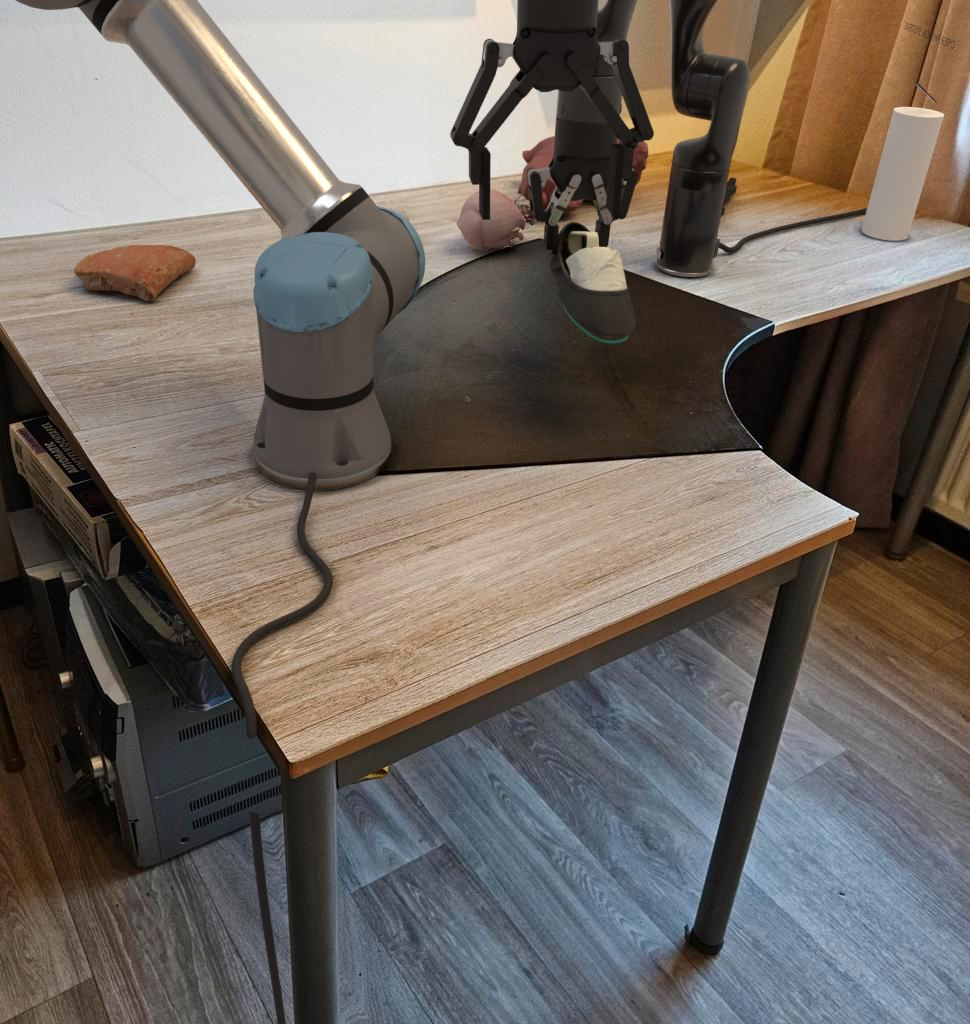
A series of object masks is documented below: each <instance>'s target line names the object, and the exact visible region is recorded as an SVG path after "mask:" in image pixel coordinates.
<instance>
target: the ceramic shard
mask: <svg viewBox="0 0 970 1024" xmlns="http://www.w3.org/2000/svg"><path fill="white" fill-rule="evenodd" d="M196 264H197V259H196V257H195V256H194V254H192V253H190V252H189V251H188V250H186V249H184V248H180V247H177V246H174V245H169V244H167V245H166V244H130V245H125V246H123V245H122V246H117V247H114V248H111V249H104V250H102V251H101V250H100V251H98V252H95V253H91V254H88V255H86V256H85V257H83V259H81V260H80V261H79V262H77V264H76V266H75V267H74V269H73V273H74V275H75V276H76V277H77V278H79V279H80V280H81V282H82V283H83V285H84V286H85V288H86V289H87V290H88V291H116V292H117V291H118V292H121V293H123V294H125V295H127V296H134V297H137V298H139V299H141V300H143V301H146V302H152V301H154V300H155V299H156V298H157V297H158V295H160V294H161V292H162V291H163V290H164V289H165V288H166V287H167V286H169V284H171V283H172V282H173V281H175V280H176V279H178V277H179V276H181V275H183V274H184V273H186V272H189V271H192V270H194V269H195V267H196Z"/></svg>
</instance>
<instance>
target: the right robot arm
mask: <svg viewBox="0 0 970 1024" xmlns="http://www.w3.org/2000/svg"><path fill="white" fill-rule="evenodd" d="M718 1H719V0H668V6H669V17H670V18H669V19H670V90H671V100H672V103H673V107H674V109H675V110H676V112H677V113H678V114H680V115H682V116H685V117H689V118H694V119H698V120H705V121H707V122H708V121H709V122H710V123H709V127H708V130H707V132H706V134H704V135H702V136H699V137H695V138H689V139H685V140H681V141H678V142H677V143H676V144H675V146H674V148H673V153H672V160H671V165H670V166H671V167H670V172H669V181H668V186H667V194H666V200H665V207H664V214H663V220H662V227H661V234H660V239H659V246H658V245H657V246H656V253H655V254H656V256H657V259H656V261H655V262H656V263H655V266H656V268H657V269H658V270H660V272H663V273H665V274H667V275H670V276H674V277H680V278H681V277H682V278H701V277H705V276H709V275H710V274H711V273H712V271H713V262H714V259H715V258H716V257H718V254H719V249H720V250H722V251H724V252H725V253H728V254H730V253H731V254H732V253H736V252H737V251H738V250H739V249H740V248H741V247H742V246H744V245H745V244H746V243H748V242H750V241H753V240H756V239H759V238H762V237H765V236H769V235H772V234H776V233H779V232H784V231H787V230H792V229H796V228H802V227H806V226H812V225H815V224H821V223H826V222H830V221H836V220H841V219H845V218H851V217H854V216H858V215H863V214H866V211H867V208H868V207H864V208H860V209H856V210H850V211H848V212H842V213H838V214H833V215H827V216H822V217H817V218H812V219H807V220H801V221H798V222H793V223H789V224H785V225H779V226H777V227H773V228H772V227H771V228H769V229H765V230H761V231H758V232H755V233H752V234H749V235H747V236H745V237H743V238H741V239H740V240H739V241H738V242H737V243H736V244H735V245H734V246H731V247H730V246H727V245H726V244H724V243H722V242H721V239H720V238H718V234H719V231H720V225H721V224H720V223H721V219H722V217H721V214H722V208H723V203H724V197H725V192H726V186H727V182H728V180H729V174H730V168H731V165H732V158H733V155H734V152H735V149H736V146H737V142H738V139H739V133H740V128H741V124H742V120H743V116H744V111H745V106H746V103H747V99H748V94H749V89H750V81H751V71H750V68H749V65H748V63H747V62H746V61H745V60H744V59H743V58H738V57H733V56H727V55H722V54H721V55H720V54H715V53H714V54H713V53H707V52H706V51H705V49H704V40H703V35H704V27H705V24H706V22H707V21H708V18H709V16H710V14H711V12H712V11H713V9H714V7H715V6H716V4H717V2H718ZM637 2H638V0H606V2H605V4H604V5H603V7H602V8H601V9H598V15H597V30H596V35H597V39H598V42H602V41H609V40H611V39H612V38H613V37H616V36H617V37H620V38H622V39H624V40H626V41H627V40H628V39H627V38H628V33H629V29H630V26H631V23H632V22H631V21H632V18H633V15H634V12H635V8H636V5H637ZM589 73H590V74H591V76H592V77H593V78H594V80H595V81H596V83H597V84H598V85H599V87H600V89H601V90H602V92H603V93H604V95H605V96H606V97H607V99H608V100H609V102H610V103H611V104H612V106H613V107H614V109H615V110H616V111H617V113H618V114H619V116H620V117H621V113H622V110H623V104H622V103H623V102H622V101H623V96H622V93H621V91H620V88H619V86H618V83H617V80H616V78H615V75H614V72H613V69H612V65H610V64H608V63H607V62H606V61H605V59H604V56H603V55H599V58H598V59H597V61H596V62H595V63H594V65H593V66H592V68H591V69H590V71H589ZM556 100H557V102H556V112H555V113H556V115H555V125H554V136H555V138H554V151H553V158H552V161H551V162H550V164H549V166H548V167H545V168H540V169H534V168H532V167H531V168H528V169H527V171H526V175H527V184H528V193H529V202H530V211H531V214H532V215H533V216H534V218H535V219H536V220H537V221H536V222H542V223H544V226H543V228H544V229H543V230H544V232H543V246H544V248H545V249H546V251H548V254H550V255H553V254H557V245H558V234H559V232H560V226H559V221H560V219H561V217H562V215H563V213H564V212H563V211H564V210H566V208H567V206H568V204H569V202H570V201H578V200H581V199H583V201H587V202H593V204H594V207H595V211H596V214H597V217H598V219H596V220H595V227H594V228H595V229H594V232H597V233H598V234H597V235H598V239H599V246H600V247H609V243H610V235H611V225H612V224H613V222H614V221H617V220H624V219H625V218H626V217H627V215H628V212H629V209H630V206H631V202H632V199H633V195H634V192H635V189H636V186H637V185H636V182H637V179H638V173H637V172H636V171H635V170H634V169H632V175H631V177H630V179H622V189H621V201H620V213H619V214H617V215H612V214H611V213H610V211H609V210H608V209H607V208H606V199H607V196H606V193H605V189H606V187H607V185H608V171H609V158H610V144H611V143H617V137H616V135H615V134H614V133H613V131H612V130H611V128H610V127H609V126H608V124H607V123H606V122H605V120H604V119H603V117H602V116H601V115H600V113H599V112H598V111H597V109H596V108H595V106H594V105H593V104H592V102H591V101H590V99H589V98H588V97H587V95H586V94H585V93H584V91H583V90H582V89H581V88H580V86H578V87H577V88H575V89H573V90H572V91H571V92H564V91H560V90H557V99H556ZM550 176H551V178H552V180H553V181H554V183H555V185H556V188H555V190H554V192H553V194H552V196H551V200H550V203H549V205H548V207H547V209H546V210H545V209H544V206H543V197H542V188H543V187H544V186H545V185H546V180H547V178H548V177H550ZM635 185H636V186H635Z"/></svg>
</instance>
